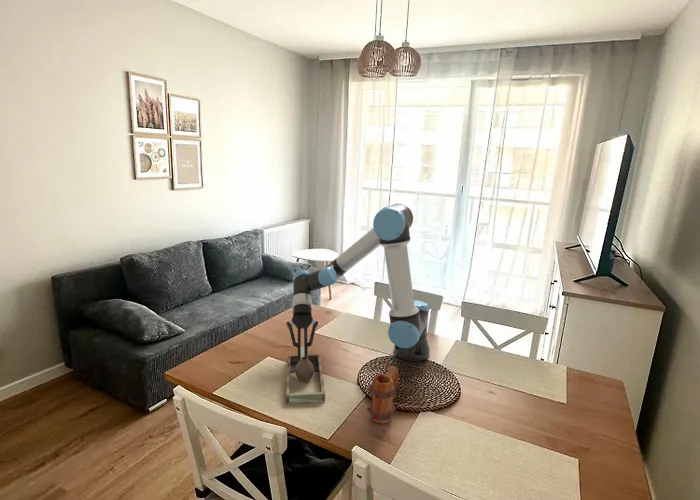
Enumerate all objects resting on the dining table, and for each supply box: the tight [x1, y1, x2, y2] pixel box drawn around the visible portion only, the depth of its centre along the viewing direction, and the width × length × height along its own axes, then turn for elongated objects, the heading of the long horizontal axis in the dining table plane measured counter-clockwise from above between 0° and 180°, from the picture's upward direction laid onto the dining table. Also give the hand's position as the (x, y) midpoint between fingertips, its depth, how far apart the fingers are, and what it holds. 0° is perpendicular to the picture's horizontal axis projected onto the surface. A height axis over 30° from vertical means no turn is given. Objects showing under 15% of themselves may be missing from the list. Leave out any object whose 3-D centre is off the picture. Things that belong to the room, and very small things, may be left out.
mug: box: [366, 365, 400, 424], centre depth 127 cm, size 15×8×15 cm, turn 148°
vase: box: [294, 357, 315, 383], centre depth 147 cm, size 7×7×9 cm
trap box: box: [285, 353, 326, 405], centre depth 147 cm, size 28×13×3 cm, turn 8°
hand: (302, 363), depth 151 cm, fingers closed
